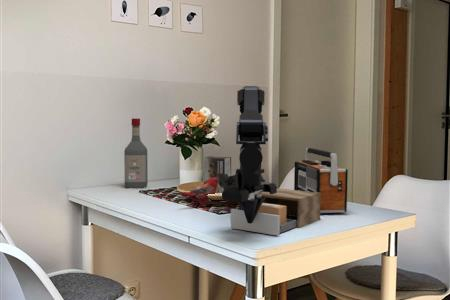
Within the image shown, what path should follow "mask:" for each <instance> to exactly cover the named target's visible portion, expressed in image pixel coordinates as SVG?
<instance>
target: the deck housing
mask: <svg viewBox="0 0 450 300" xmlns="http://www.w3.org/2000/svg"><path fill="white" fill-rule="evenodd" d="M261 194H262V196H263V197H266V199H264V201H263V203H267V204H275V205H283V206H287V213H286V217H287V216H288V217H295V218H297V219H296V220H297V229H300V228H303V227H305V226H308V225H311V224H313V223H316V222H319V221H320V220H321V214H320V200H321V193H318V192H308V191H299V190H294V189H288V188H287V189H286V188H280V187H279V188H278V187H277V193H275V194H270V193H269V192H261Z"/></svg>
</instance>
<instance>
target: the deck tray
mask: <svg viewBox="0 0 450 300" xmlns="http://www.w3.org/2000/svg"><path fill="white" fill-rule="evenodd" d="M297 220H298V219H290V218H286V223H285V224H283V225H280V215H273V214H266V213H259V212H257V214H256V216H255V219H254V221H253V223H251V224H250V223H247V220H246V216H245V213H244V210H238V209H236V208H230V228H231V229H235V230H243V231H249V232H255V233H261V234H266V235H270V236H272V235H273V236H276V237H277V236H280V235H281V233H284V232H286V231H288V230H291V229H294V228H296V227H297Z"/></svg>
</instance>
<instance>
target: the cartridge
mask: <svg viewBox="0 0 450 300" xmlns="http://www.w3.org/2000/svg"><path fill="white" fill-rule="evenodd" d="M258 212H259V213H266V214H273V215H280V225H283V224H285V223H286V219H287V215H286V213H287V206H283V205H275V204H267V203H262V205H261V206H260V208H259V210H258Z"/></svg>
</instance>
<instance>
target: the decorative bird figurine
mask: <svg viewBox="0 0 450 300" xmlns="http://www.w3.org/2000/svg"><path fill="white" fill-rule="evenodd" d="M218 183H219V182H218V180H217V178H216V177H213V178H211V179H209V180H208V181H207V182H206V183H205V184H204V183H203V184H202V185H200V186H198V187H195V188H194V189H191V190H190V191H177V193H179V194H182V195H185V196H187V197H189V198H190V199H191V200H192V201H195V202H198V203H199V205H198V207H207V206H210V205H211V204H210V203H208V204H207V203H205V202H208V201H211V200H210V198H208V196H207V195H208V194H215V191H216V188H217V185H218Z"/></svg>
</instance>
